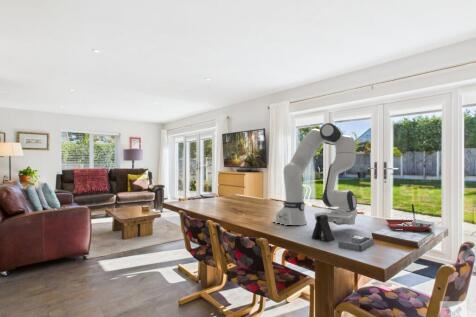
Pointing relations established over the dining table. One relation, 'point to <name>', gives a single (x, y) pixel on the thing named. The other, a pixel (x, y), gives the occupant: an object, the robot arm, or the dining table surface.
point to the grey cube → (358, 240)
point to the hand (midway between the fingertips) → (326, 220)
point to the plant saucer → (394, 226)
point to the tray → (357, 247)
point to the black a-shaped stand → (322, 229)
